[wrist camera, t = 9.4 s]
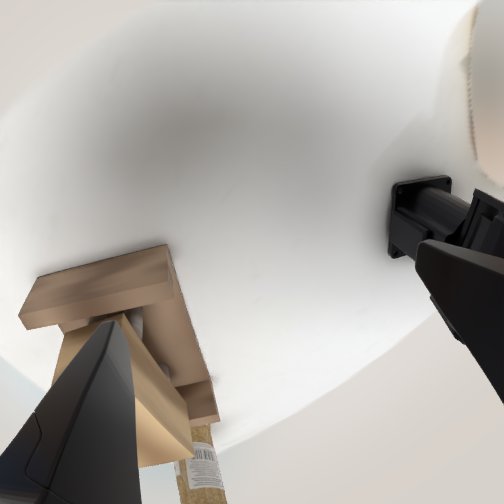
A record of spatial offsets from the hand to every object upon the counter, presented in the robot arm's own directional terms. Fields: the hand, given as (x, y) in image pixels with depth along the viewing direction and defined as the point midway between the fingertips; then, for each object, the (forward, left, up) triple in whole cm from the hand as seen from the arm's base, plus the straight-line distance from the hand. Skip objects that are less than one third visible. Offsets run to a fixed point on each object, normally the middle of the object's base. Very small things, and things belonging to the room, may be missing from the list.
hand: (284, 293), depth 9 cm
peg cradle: (+9, +11, -12) cm, 19 cm away
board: (+9, +11, -9) cm, 17 cm away
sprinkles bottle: (+8, +25, -13) cm, 29 cm away
